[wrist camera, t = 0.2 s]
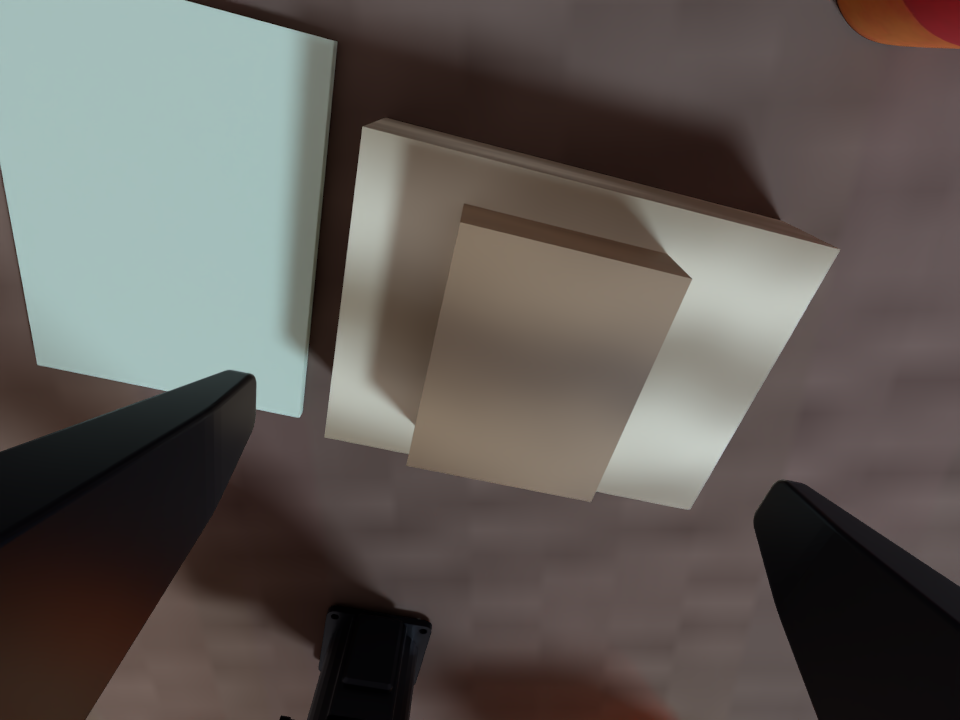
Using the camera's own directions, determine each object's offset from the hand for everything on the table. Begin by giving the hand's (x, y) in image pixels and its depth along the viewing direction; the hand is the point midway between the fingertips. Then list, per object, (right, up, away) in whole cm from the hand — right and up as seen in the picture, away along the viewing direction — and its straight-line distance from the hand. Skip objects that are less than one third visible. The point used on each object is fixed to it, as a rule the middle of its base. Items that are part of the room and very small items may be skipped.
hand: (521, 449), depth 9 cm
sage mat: (-13, +7, +13) cm, 20 cm away
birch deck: (+2, +4, +14) cm, 15 cm away
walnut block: (+1, +2, +11) cm, 11 cm away
